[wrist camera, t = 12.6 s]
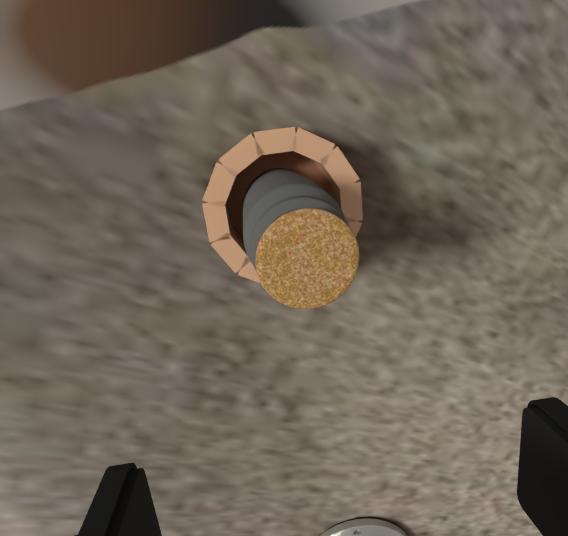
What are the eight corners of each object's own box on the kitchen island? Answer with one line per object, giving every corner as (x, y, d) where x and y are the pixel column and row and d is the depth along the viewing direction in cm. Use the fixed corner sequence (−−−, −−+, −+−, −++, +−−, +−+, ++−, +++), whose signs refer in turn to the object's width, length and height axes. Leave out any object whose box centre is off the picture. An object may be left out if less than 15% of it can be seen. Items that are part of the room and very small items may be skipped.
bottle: (258, 250, 33) (269, 338, 19) (231, 182, 32) (222, 223, 17) (325, 226, 33) (387, 295, 19) (303, 156, 31) (352, 175, 17)
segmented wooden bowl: (368, 163, 33) (388, 168, 28) (312, 283, 36) (322, 305, 31) (239, 105, 31) (239, 100, 26) (190, 238, 33) (182, 254, 29)
